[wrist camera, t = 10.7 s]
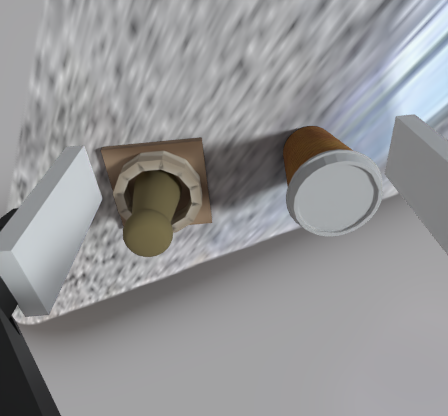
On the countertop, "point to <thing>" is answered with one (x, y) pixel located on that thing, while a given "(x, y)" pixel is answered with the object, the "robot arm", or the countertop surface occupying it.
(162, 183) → the olive knobbed peg
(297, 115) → the countertop surface
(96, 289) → the countertop surface
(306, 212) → the disposable coffee cup
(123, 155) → the collar base
